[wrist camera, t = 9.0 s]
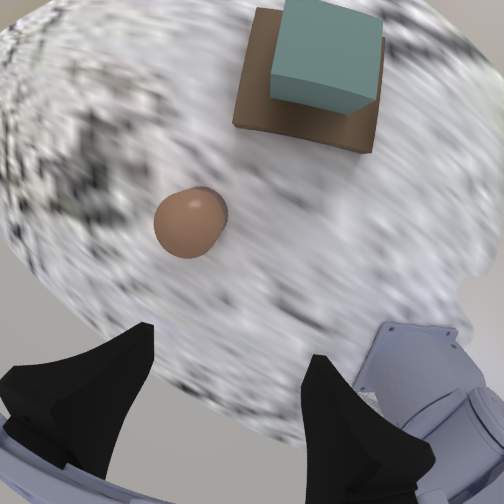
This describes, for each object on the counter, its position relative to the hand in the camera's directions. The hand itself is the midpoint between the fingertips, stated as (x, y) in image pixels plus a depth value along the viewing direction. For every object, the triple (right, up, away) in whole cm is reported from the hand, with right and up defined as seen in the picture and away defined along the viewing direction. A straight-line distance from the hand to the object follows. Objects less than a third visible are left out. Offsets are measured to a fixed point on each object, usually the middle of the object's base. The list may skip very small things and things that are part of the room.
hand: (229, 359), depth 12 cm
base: (+5, +17, +5) cm, 18 cm away
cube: (+5, +16, +3) cm, 17 cm away
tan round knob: (-3, +7, +8) cm, 11 cm away
